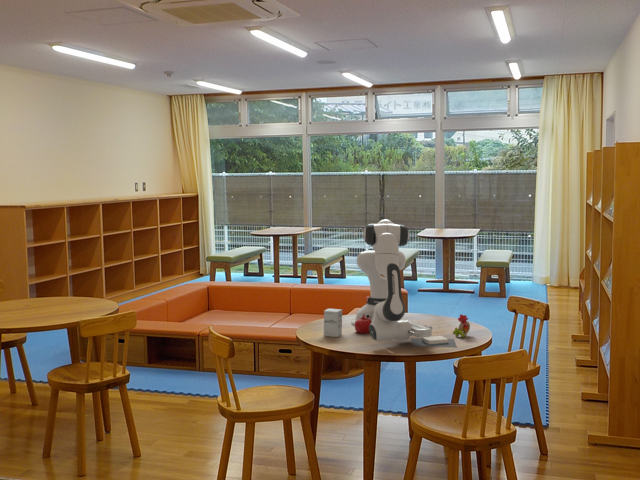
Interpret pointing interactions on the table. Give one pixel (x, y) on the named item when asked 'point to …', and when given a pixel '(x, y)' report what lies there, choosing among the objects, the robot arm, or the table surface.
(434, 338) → the tile
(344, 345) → the table surface
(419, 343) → the rubber mat
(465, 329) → the bird rattle
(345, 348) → the table surface
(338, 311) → the supplement box
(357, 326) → the pomegranate
